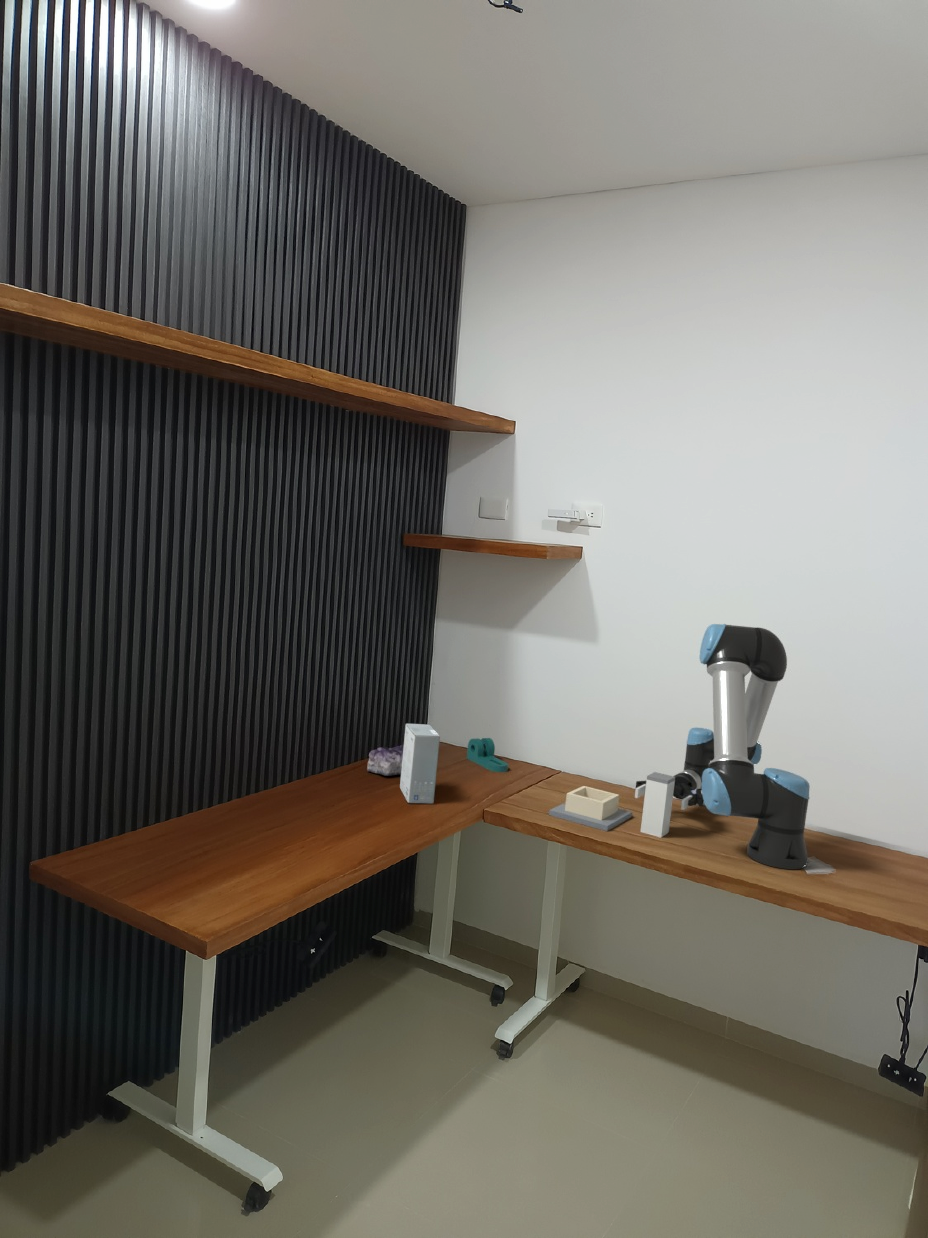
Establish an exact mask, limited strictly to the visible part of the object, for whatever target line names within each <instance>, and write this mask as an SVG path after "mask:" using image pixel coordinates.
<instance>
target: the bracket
mask: <svg viewBox="0 0 928 1238" xmlns="http://www.w3.org/2000/svg"><path fill="white" fill-rule="evenodd" d="M495 749H496V747H495V742H494V740H493V739H492V737H483V738H481V739H480V738H470V739H469V740H468V743H467V750H466V759H467V760H468V761H471V762H473V763H475V764H477V765H479V766H481V767H483V768H485V769H487V770H488V771H492V772H495V773H506V772H508V770H509V764H508V762H506V761H503V760H502V759H499V758H497V757H495V751H496V750H495Z"/></svg>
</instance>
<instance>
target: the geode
mask: <svg viewBox="0 0 928 1238" xmlns="http://www.w3.org/2000/svg"><path fill="white" fill-rule="evenodd" d="M403 748H404V744H401V745H397V746H394V747H392V748H391V747H390V748H388V747H387V746H386V747H378V748H377V749H372V750H371V751H370V752H369V754H368V757H369V759H368V761H367V768H366V769H367V770H366V771H367V772H369V773H370V772H371V773H373V774H378V775H381V776H384V777H388V776H389V777H392V776H396V775H401V770H402V759H403Z"/></svg>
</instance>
